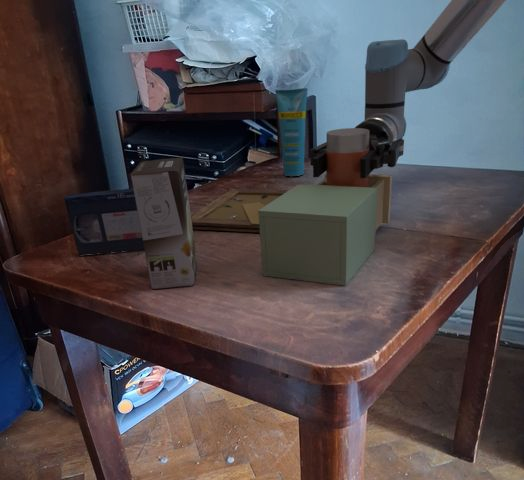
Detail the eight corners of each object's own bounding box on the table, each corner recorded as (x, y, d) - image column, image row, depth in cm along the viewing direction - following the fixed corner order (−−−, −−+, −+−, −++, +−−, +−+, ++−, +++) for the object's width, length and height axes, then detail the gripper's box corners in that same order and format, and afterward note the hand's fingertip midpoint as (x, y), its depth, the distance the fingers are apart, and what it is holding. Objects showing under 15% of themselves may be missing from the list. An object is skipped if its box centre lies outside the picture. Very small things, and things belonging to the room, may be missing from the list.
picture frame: (277, 234, 93) (314, 198, 112) (276, 224, 92) (314, 189, 111) (183, 229, 99) (233, 195, 118) (181, 220, 98) (232, 187, 117)
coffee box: (195, 286, 76) (179, 170, 68) (151, 290, 76) (128, 174, 68) (198, 262, 84) (183, 156, 76) (157, 266, 84) (138, 160, 76)
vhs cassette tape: (77, 257, 90) (62, 198, 85) (81, 251, 93) (66, 193, 88) (186, 247, 91) (177, 187, 86) (187, 241, 93) (178, 183, 88)
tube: (277, 178, 130) (273, 90, 120) (280, 173, 134) (276, 88, 124) (308, 177, 128) (306, 88, 119) (310, 172, 132) (308, 86, 123)
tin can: (372, 195, 88) (374, 127, 83) (361, 206, 83) (362, 135, 78) (334, 193, 91) (334, 128, 86) (320, 204, 86) (319, 135, 81)
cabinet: (300, 242, 89) (298, 184, 84) (374, 249, 84) (377, 187, 79) (262, 275, 78) (257, 210, 73) (346, 286, 73) (346, 216, 68)
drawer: (335, 210, 100) (335, 167, 96) (395, 214, 96) (398, 169, 92) (299, 241, 87) (297, 193, 83) (368, 247, 82) (369, 196, 78)
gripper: (425, 162, 97) (403, 195, 78) (321, 161, 104) (279, 191, 86) (429, 117, 93) (406, 141, 75) (321, 119, 100) (276, 142, 82)
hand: (338, 168), depth 80 cm, fingers closed on tin can, 7 cm apart
